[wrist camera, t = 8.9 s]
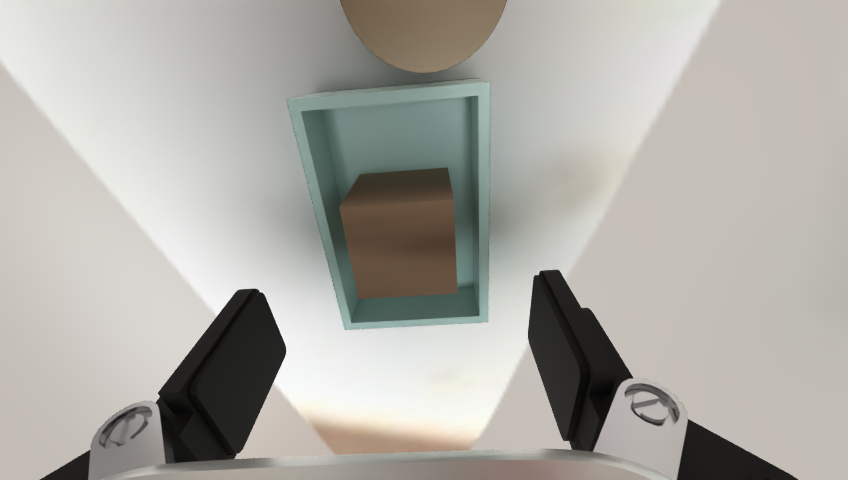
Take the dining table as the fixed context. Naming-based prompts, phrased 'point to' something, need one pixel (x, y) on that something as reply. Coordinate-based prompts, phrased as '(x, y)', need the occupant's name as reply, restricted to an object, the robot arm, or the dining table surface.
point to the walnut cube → (401, 233)
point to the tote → (401, 151)
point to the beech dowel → (423, 30)
